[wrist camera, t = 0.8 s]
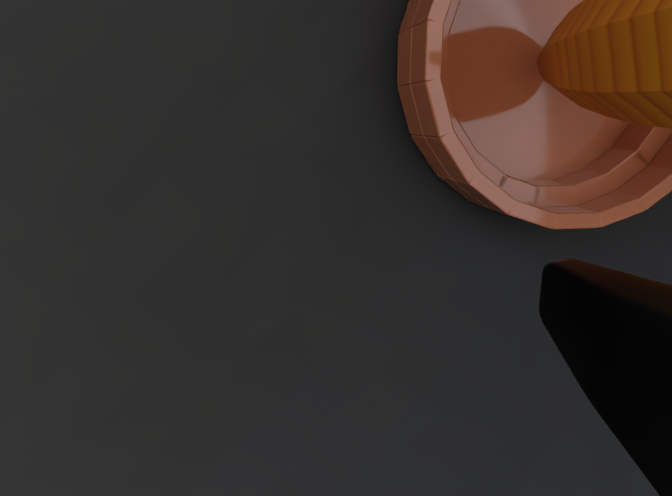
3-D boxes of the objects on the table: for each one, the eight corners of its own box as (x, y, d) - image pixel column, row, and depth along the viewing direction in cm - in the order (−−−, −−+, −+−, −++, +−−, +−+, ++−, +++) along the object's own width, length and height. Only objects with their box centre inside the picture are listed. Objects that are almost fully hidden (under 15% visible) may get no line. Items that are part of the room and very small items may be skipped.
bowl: (692, 160, 26) (763, 167, 22) (439, 253, 24) (474, 275, 21) (650, -142, 22) (726, -188, 19) (356, -54, 21) (381, -86, 18)
